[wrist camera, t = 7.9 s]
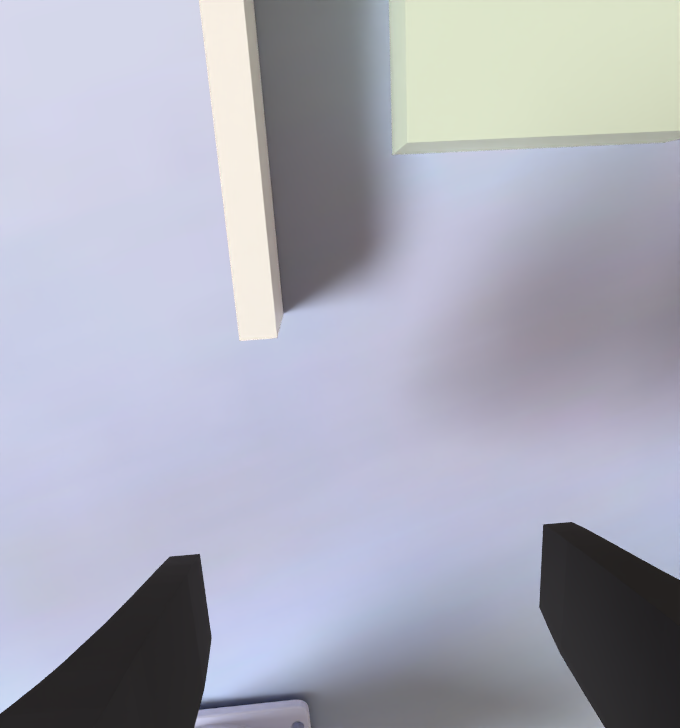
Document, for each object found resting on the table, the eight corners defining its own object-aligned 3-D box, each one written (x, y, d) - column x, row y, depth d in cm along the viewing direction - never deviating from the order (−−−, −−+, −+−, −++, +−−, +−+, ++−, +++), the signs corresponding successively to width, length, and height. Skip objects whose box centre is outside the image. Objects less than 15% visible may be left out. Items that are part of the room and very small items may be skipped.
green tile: (657, 144, 18) (726, 128, 15) (390, 156, 17) (407, 142, 14) (678, -67, 16) (759, -131, 13) (385, -59, 16) (403, -123, 13)
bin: (791, 274, 19) (918, 287, 15) (253, 315, 18) (239, 341, 14) (860, -176, 15) (1046, -311, 11) (202, -150, 15) (164, -286, 11)
